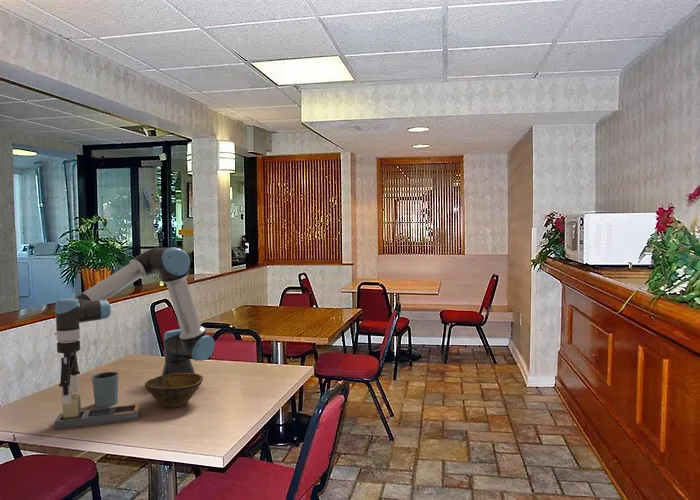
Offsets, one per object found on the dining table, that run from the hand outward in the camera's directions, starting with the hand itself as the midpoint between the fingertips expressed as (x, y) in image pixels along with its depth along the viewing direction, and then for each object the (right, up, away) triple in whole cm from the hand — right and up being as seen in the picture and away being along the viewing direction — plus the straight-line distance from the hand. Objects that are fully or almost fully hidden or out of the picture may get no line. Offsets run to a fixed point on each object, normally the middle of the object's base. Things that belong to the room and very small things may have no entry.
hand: (70, 397), depth 196 cm
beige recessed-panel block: (0, -10, +1) cm, 10 cm away
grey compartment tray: (+9, -9, +3) cm, 13 cm away
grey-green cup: (+3, -9, +23) cm, 24 cm away
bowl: (+32, -8, +20) cm, 39 cm away
